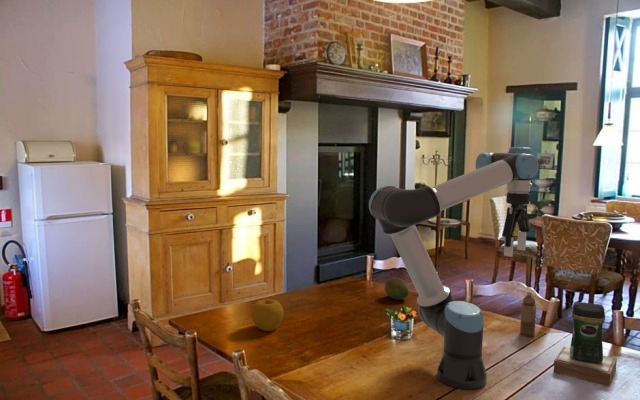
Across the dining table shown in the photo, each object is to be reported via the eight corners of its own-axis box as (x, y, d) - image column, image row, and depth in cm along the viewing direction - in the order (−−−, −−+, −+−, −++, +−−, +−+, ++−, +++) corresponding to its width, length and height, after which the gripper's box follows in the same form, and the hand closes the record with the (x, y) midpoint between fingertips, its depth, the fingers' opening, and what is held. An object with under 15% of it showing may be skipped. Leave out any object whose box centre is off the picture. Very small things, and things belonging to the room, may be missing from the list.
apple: (246, 332, 197) (246, 304, 196) (258, 321, 210) (258, 294, 209) (277, 335, 194) (277, 307, 193) (287, 324, 207) (287, 297, 206)
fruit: (395, 293, 250) (396, 273, 249) (415, 299, 241) (416, 279, 240) (379, 297, 243) (379, 277, 242) (399, 304, 233) (399, 283, 232)
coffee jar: (600, 356, 167) (604, 301, 165) (604, 366, 160) (608, 309, 158) (568, 351, 171) (571, 298, 169) (569, 360, 163) (573, 305, 161)
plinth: (609, 386, 155) (610, 373, 155) (553, 372, 165) (554, 359, 164) (615, 370, 166) (616, 357, 166) (563, 357, 176) (563, 345, 176)
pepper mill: (532, 337, 194) (534, 295, 192) (518, 334, 197) (520, 292, 195) (536, 333, 198) (538, 292, 196) (522, 330, 201) (524, 289, 199)
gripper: (517, 195, 162) (513, 260, 164) (540, 190, 181) (536, 248, 183) (494, 193, 166) (491, 257, 169) (519, 189, 186) (515, 246, 188)
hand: (514, 253), depth 176 cm, fingers open, 13 cm apart
